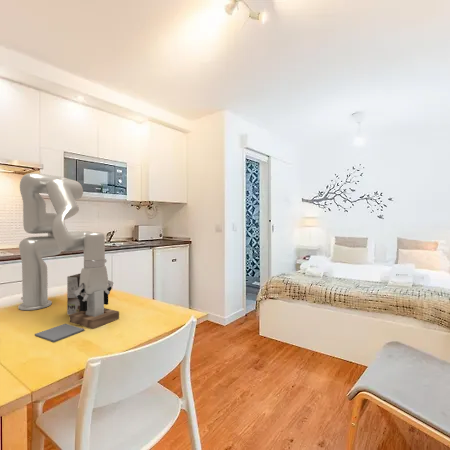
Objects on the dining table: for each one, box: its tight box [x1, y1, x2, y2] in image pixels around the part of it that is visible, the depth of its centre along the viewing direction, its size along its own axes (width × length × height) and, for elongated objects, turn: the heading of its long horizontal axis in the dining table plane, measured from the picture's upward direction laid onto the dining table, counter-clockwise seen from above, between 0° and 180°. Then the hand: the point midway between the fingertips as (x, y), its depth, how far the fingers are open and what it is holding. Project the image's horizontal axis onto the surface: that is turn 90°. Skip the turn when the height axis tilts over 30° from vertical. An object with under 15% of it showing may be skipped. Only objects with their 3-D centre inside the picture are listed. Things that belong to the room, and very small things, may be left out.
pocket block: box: [69, 307, 120, 330], centre depth 113 cm, size 14×12×3 cm
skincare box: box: [86, 290, 105, 317], centre depth 113 cm, size 6×4×12 cm
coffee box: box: [66, 272, 81, 316], centre depth 123 cm, size 9×6×16 cm
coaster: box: [34, 323, 85, 343], centre depth 101 cm, size 11×11×1 cm
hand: (94, 307), depth 113 cm, fingers open, 9 cm apart
